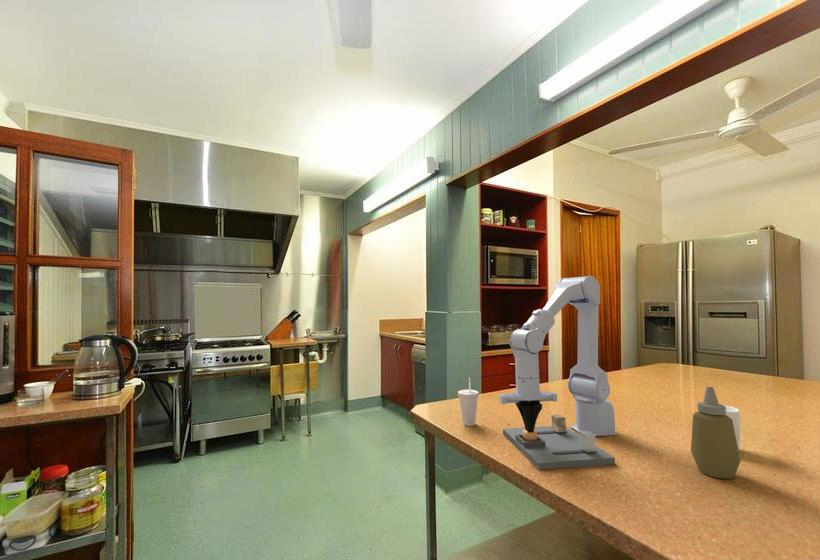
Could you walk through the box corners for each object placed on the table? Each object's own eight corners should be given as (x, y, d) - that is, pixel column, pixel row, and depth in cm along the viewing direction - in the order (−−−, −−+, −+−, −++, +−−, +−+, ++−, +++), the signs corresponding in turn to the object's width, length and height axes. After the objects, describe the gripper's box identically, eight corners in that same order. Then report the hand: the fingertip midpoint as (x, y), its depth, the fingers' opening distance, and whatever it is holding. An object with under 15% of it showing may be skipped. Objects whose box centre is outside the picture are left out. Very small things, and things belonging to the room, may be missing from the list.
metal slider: (588, 446, 87) (587, 430, 87) (596, 451, 84) (595, 434, 84) (579, 447, 86) (578, 431, 87) (586, 452, 83) (585, 435, 84)
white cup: (727, 457, 84) (724, 413, 84) (692, 444, 91) (690, 404, 92) (751, 453, 86) (747, 410, 86) (715, 441, 93) (712, 401, 94)
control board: (563, 430, 103) (563, 420, 103) (615, 464, 81) (614, 451, 81) (502, 434, 101) (502, 424, 101) (539, 470, 79) (538, 457, 79)
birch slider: (560, 428, 99) (559, 414, 100) (566, 431, 96) (565, 417, 97) (552, 428, 99) (551, 414, 99) (557, 432, 96) (556, 417, 96)
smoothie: (479, 428, 107) (478, 380, 107) (457, 426, 108) (456, 379, 109) (479, 421, 113) (478, 375, 114) (459, 420, 114) (458, 375, 115)
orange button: (533, 436, 93) (533, 428, 93) (540, 441, 89) (539, 433, 89) (520, 436, 92) (519, 429, 92) (526, 442, 89) (525, 434, 89)
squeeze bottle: (692, 461, 82) (686, 381, 83) (740, 471, 77) (733, 386, 78) (691, 475, 76) (685, 388, 77) (743, 486, 71) (736, 393, 72)
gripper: (546, 372, 96) (549, 424, 96) (494, 374, 95) (496, 427, 94) (560, 377, 89) (563, 433, 89) (504, 380, 88) (506, 437, 87)
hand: (529, 431), depth 91 cm, fingers closed, pressing on orange button
